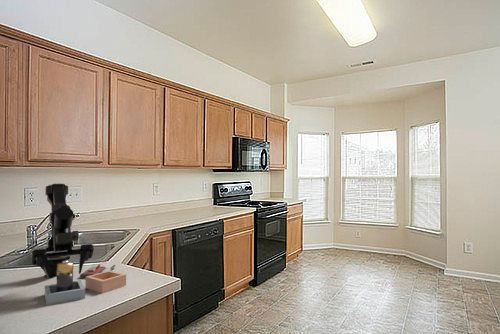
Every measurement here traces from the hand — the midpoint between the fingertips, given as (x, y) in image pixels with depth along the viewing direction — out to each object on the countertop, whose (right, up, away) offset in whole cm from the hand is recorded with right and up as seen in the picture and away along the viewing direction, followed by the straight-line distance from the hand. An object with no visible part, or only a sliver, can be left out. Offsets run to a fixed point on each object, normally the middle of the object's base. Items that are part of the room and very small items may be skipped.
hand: (64, 275), depth 113 cm
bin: (+10, -8, +10) cm, 16 cm away
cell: (0, -7, 0) cm, 7 cm away
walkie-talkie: (-1, -9, +28) cm, 30 cm away
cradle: (0, -8, 0) cm, 8 cm away
